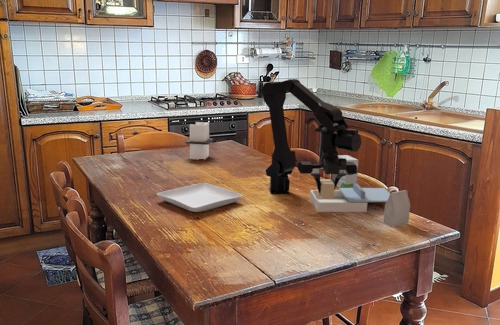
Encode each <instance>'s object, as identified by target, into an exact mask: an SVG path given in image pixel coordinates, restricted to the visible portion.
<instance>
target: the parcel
mask: <svg viewBox="0 0 500 325" xmlns="http://www.w3.org/2000/svg"><path fill="white" fill-rule="evenodd" d="M334 187H335V184H334V183H333V181H332V178H329V179H327V178H322V179H321V178H320V188H321V189H320V193H319V192H318V194H319V196H320V197H321V199H334Z"/></svg>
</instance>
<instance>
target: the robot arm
mask: <svg viewBox="0 0 500 325" xmlns="http://www.w3.org/2000/svg"><path fill="white" fill-rule="evenodd" d="M288 93H289V94H292V96H294V97H295V98H296V99H297V100H298V101H299V102H300V103H302V104H303V105H304V106H305V107H306V108H308V109H309V110H310V111H311V113H313V117H314V119H316V121H317V122H318V123H319V125H318V126H317V128H315V129H314V131H315V132H317V133H320V136H319V139H320V140H319V147H318V148H319V149H318V150H319V151H318V152H319V155H318V163H317V164H313V163H312V161H308V160H307V161H301V160H300V161H299V162H298V161H297V159H296V158H297V157H296V151H295V150H291V148H290V147H289V141H288V134H287V125H286V119H285V111H284V105H285V102H286V99H287V94H288ZM261 94H262V98H263V102H264V104H266V106H267V108H268V109H269V117H270V125H271V132H272V139H273V140H272V141H273V146H274V149H273V152H272V156H271V164H270V165H269V166H268V167H267V168H266V169H265V174H266V176H267V177H269V187H268V190H269V193H270V194H271V195H272V194H273V195H274V194H278V195H282V194H287V195H288V194H289V191H290V181H291V180H290V178H289V175H292V173H293V170H294V169H295V168H296V164H297V170H298V171H299V173H300V174H307V175H308V174H310V176H312V177H313V180H314V182H315V185H316V188H317V189H316V190H318V192H319V193H320V189H321V188H320V179H321V174H320V171H323V173H324V174H325V175H332V178H331V180H332V181H333V183H334V184H335V187H334V190H336V188H337V187H338V186H337V184H338V182H339V180H340V178H341V177H343V176H346V174H345V170H346V172H347V173H348V174H357V169H359V167H358V168H357V166H356V165H355V164H354V163H353V162H347V161H346V159H345V158H340V159H339V158H338V155H339V151H338V149H339V150H345V151H348V152H354V153H357V152H358V151H359V150H360V148H361V145H362V137H361V135H360V134H359V129H354V128H353V129H352V128H349V126H348V123H347V122H346V120H345V119H344V116H343V112H342V110H341V109H340V108H339V107H338V106H335V105H333V104H331V103H328V102H326V101H323V100H322V99H321V98H320V97H318V96H317V95H316V94H315V93H314V92H312V91H311V90H310V89H309V88H307V87H306V86H304V85H303V84H302V83H301V81H300V80H299V79H297V78H291V79H290V78H289V79H286V80H283V81H269V82H265V83H264V84H263V86H262V87H261ZM297 162H298V163H297ZM357 175H358V174H357Z"/></svg>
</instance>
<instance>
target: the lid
mask: <svg viewBox="0 0 500 325" xmlns="http://www.w3.org/2000/svg"><path fill="white" fill-rule="evenodd" d="M338 190H340V191H341V192H342V194H343V195H344V196H345V197H346V199H347V200H348V201H349V202H367V203H386V202H387V200H388V198H389V196H390V193H391V192H389V191H388V190H387V189H386V188H385V187H361V186H360V185H359V184H358V183H357V184H356V183H353V188H339V187H338Z"/></svg>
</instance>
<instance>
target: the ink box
mask: <svg viewBox="0 0 500 325" xmlns="http://www.w3.org/2000/svg"><path fill="white" fill-rule="evenodd" d="M338 158H339V159H340V158H345V159H346V161H347V162H353V163H354V164H355V165H356V166H357V168H358V169H359V159H357V158H355V157H352V156H351V155H348V154H343V155H341V154H340V155H339V154H338ZM358 169H357V174H348V173H347V172H346V170H345V174H346V176H343V177H341V178H340V180H339V182H338V184H337V186H336V187H337V188H338V189H339V188H353V183H356V184H358V173H359V171H358Z"/></svg>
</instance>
